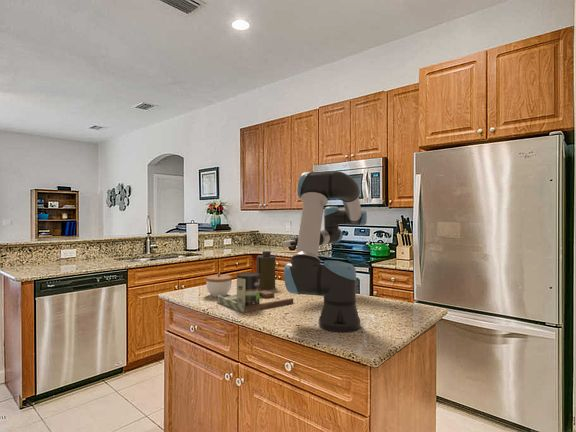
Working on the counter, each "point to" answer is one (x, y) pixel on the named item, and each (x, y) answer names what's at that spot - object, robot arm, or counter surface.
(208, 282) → the lidded bowl
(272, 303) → the trap lane
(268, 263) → the canister
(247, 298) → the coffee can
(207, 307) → the counter surface
